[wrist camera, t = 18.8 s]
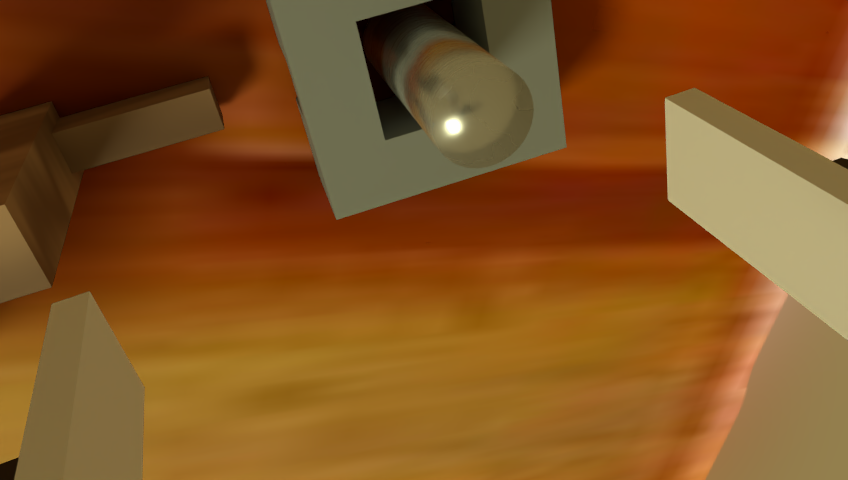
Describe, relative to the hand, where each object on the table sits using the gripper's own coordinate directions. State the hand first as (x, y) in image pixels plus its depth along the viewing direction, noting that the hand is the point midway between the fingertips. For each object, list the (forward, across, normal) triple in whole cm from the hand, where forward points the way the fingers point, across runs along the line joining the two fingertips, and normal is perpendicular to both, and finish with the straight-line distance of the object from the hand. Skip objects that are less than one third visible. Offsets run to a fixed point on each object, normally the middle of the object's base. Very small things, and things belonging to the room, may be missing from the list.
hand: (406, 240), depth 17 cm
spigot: (+23, +6, -3) cm, 24 cm away
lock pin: (+23, -9, -3) cm, 25 cm away
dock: (+23, +6, -3) cm, 24 cm away
